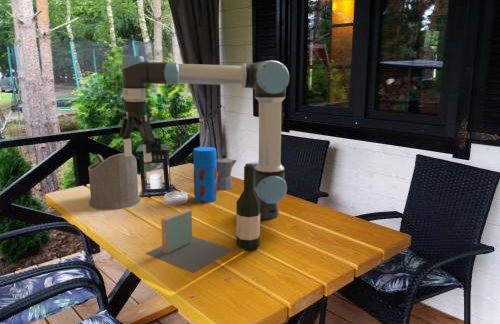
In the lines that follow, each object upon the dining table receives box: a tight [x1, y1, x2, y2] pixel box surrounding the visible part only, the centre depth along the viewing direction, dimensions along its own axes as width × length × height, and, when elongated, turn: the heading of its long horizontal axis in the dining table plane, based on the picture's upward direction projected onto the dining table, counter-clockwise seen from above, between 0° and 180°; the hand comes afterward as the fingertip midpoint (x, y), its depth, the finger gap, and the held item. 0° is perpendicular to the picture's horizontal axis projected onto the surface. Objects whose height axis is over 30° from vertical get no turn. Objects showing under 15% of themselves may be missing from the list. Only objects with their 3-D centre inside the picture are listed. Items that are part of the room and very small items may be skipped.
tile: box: [160, 208, 193, 254], centre depth 135 cm, size 2×12×12 cm, turn 144°
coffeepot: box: [216, 154, 237, 191], centre depth 208 cm, size 15×9×18 cm, turn 103°
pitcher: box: [88, 152, 142, 211], centre depth 185 cm, size 23×32×25 cm
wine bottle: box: [235, 163, 261, 252], centre depth 136 cm, size 8×8×30 cm
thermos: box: [193, 146, 218, 204], centre depth 187 cm, size 11×11×25 cm
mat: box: [144, 235, 234, 274], centre depth 133 cm, size 22×20×1 cm
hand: (137, 158), depth 144 cm, fingers open, 13 cm apart
